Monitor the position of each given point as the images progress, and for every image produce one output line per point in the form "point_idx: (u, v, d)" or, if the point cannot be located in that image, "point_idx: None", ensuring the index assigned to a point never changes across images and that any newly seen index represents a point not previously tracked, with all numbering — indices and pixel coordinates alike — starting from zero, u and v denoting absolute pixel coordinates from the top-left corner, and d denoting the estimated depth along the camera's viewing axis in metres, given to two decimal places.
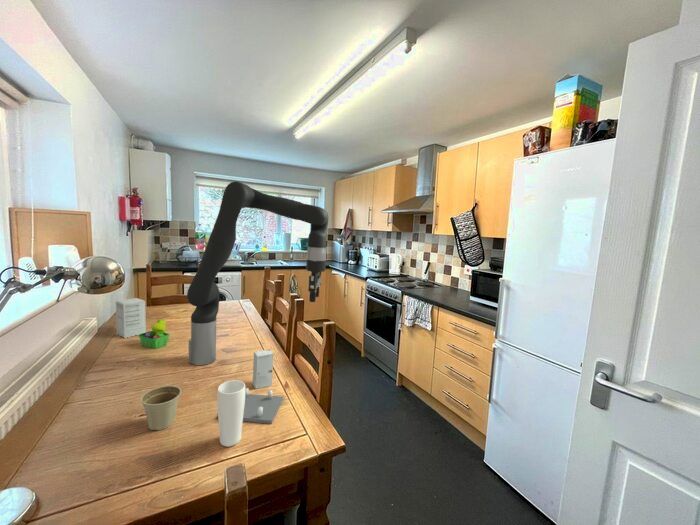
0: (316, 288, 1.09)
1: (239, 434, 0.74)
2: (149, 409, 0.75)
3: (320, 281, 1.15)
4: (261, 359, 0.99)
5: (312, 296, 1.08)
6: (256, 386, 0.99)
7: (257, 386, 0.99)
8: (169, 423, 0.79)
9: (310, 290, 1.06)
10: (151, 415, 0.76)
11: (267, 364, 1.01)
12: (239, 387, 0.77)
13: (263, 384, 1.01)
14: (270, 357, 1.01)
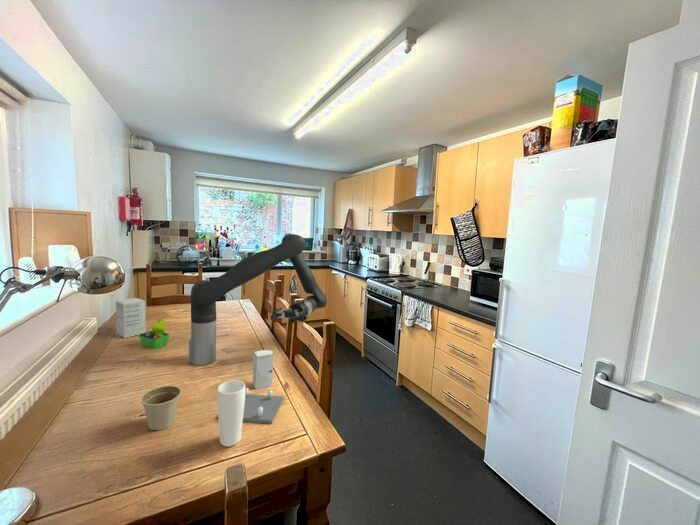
0: None
1: (239, 434, 0.74)
2: (149, 409, 0.75)
3: None
4: (261, 359, 0.99)
5: (296, 320, 1.12)
6: (256, 386, 0.99)
7: (257, 386, 0.99)
8: (169, 423, 0.79)
9: (303, 317, 1.14)
10: (151, 415, 0.76)
11: (267, 364, 1.01)
12: (239, 387, 0.77)
13: (263, 384, 1.01)
14: (270, 357, 1.01)
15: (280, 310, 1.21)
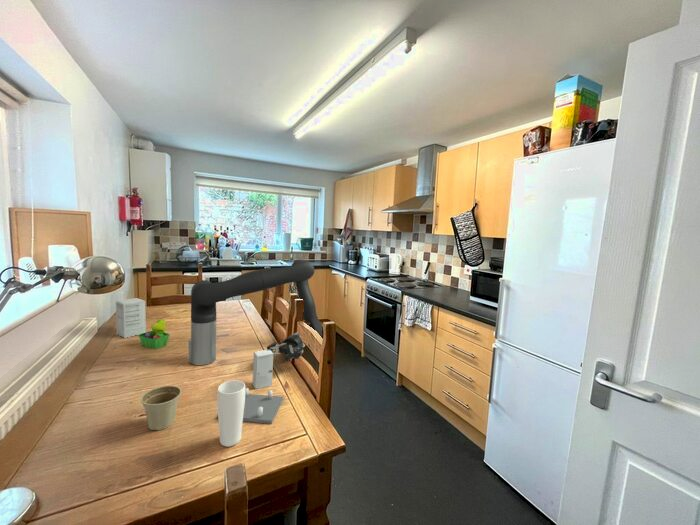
0: None
1: (239, 434, 0.74)
2: (149, 409, 0.75)
3: None
4: (261, 359, 0.99)
5: (290, 357, 1.10)
6: (256, 386, 0.99)
7: (257, 386, 0.99)
8: (169, 423, 0.79)
9: (297, 354, 1.12)
10: (151, 415, 0.76)
11: (267, 364, 1.01)
12: (239, 387, 0.77)
13: (263, 384, 1.01)
14: (270, 357, 1.01)
15: (274, 344, 1.19)
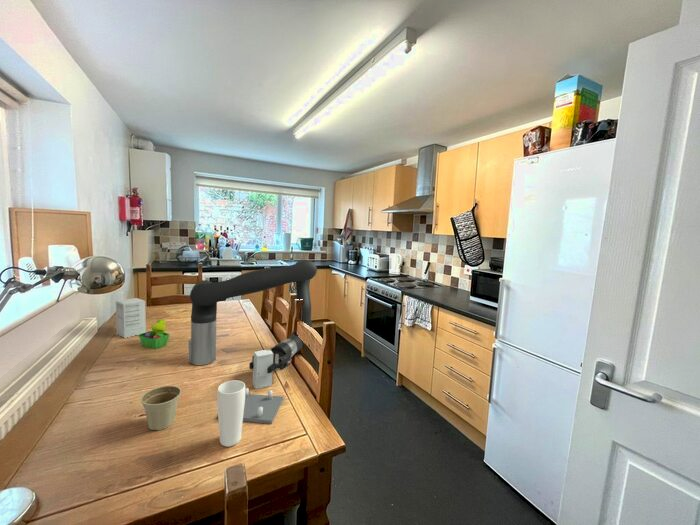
0: None
1: (239, 434, 0.74)
2: (149, 409, 0.75)
3: None
4: (261, 359, 0.99)
5: (274, 368, 1.01)
6: (256, 386, 0.99)
7: (257, 386, 0.99)
8: (169, 423, 0.79)
9: (282, 365, 1.03)
10: (151, 415, 0.76)
11: (267, 364, 1.01)
12: (239, 387, 0.77)
13: (263, 384, 1.01)
14: (270, 357, 1.01)
15: None
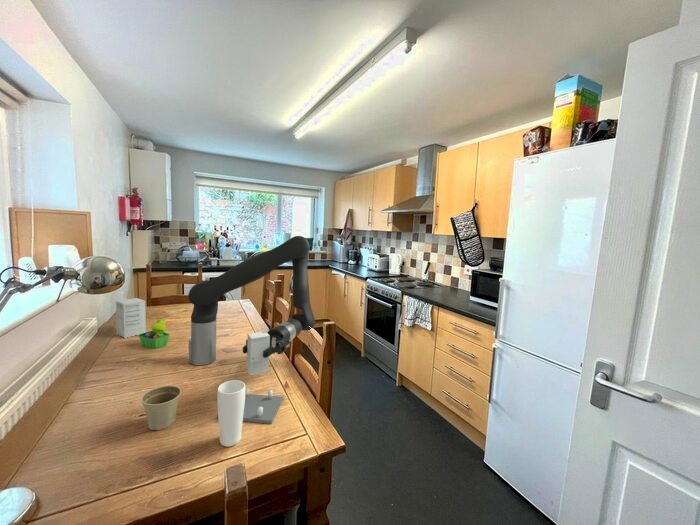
0: None
1: (239, 434, 0.74)
2: (149, 409, 0.75)
3: None
4: (256, 342, 0.88)
5: (271, 352, 0.89)
6: (250, 372, 0.88)
7: (251, 372, 0.88)
8: (169, 423, 0.79)
9: (280, 348, 0.91)
10: (151, 415, 0.76)
11: (262, 348, 0.89)
12: (239, 387, 0.77)
13: (258, 370, 0.89)
14: (266, 340, 0.89)
15: None
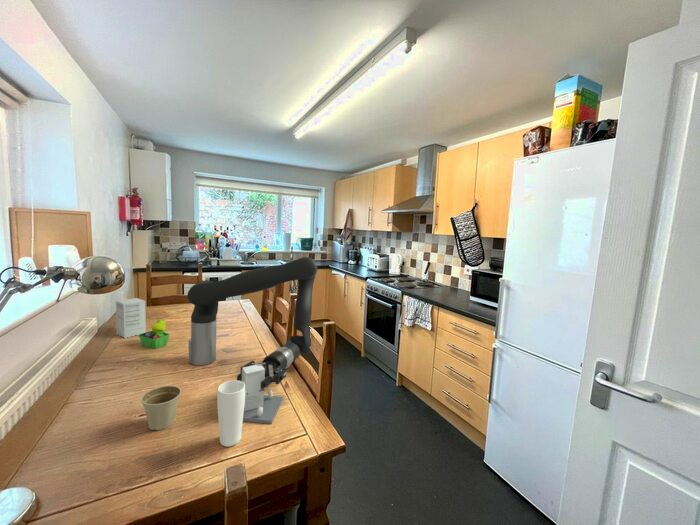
0: None
1: (239, 434, 0.74)
2: (149, 409, 0.75)
3: None
4: (250, 377, 0.86)
5: (269, 383, 0.87)
6: (245, 408, 0.86)
7: (245, 408, 0.86)
8: (169, 423, 0.79)
9: (278, 378, 0.89)
10: (151, 415, 0.76)
11: (257, 382, 0.87)
12: (239, 387, 0.77)
13: (253, 405, 0.87)
14: (261, 374, 0.87)
15: (251, 364, 0.96)
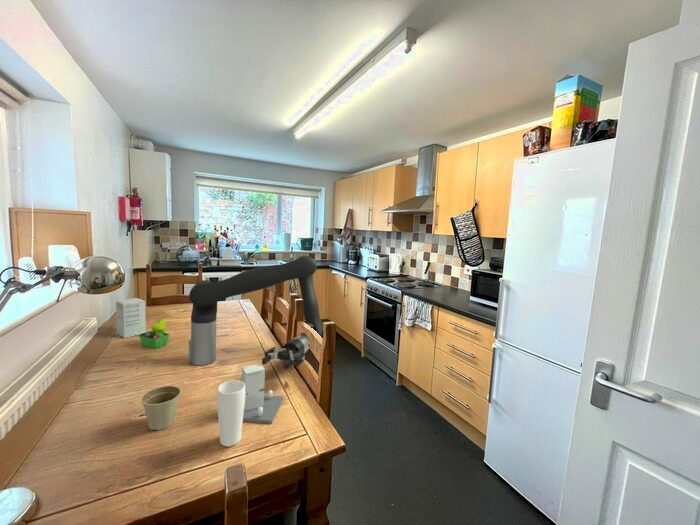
0: None
1: (239, 434, 0.74)
2: (149, 409, 0.75)
3: (277, 359, 1.06)
4: (250, 377, 0.86)
5: (290, 365, 0.99)
6: (245, 408, 0.86)
7: (245, 408, 0.86)
8: (169, 423, 0.79)
9: (298, 361, 1.01)
10: (151, 415, 0.76)
11: (257, 382, 0.87)
12: (239, 387, 0.77)
13: (253, 405, 0.87)
14: (261, 374, 0.87)
15: (273, 350, 1.08)
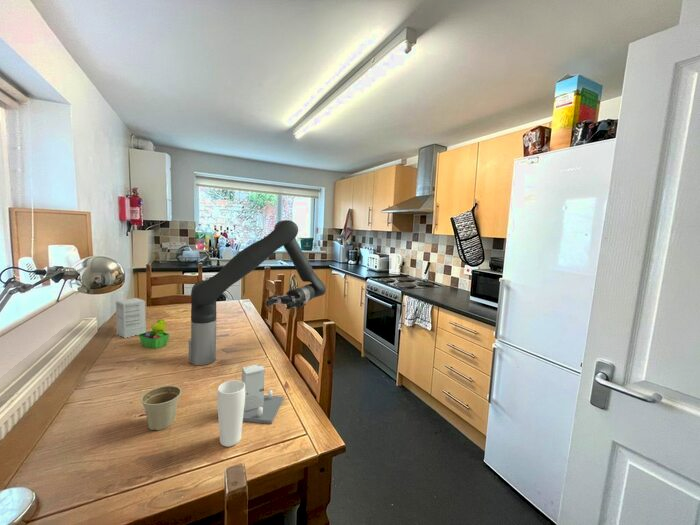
0: None
1: (239, 434, 0.74)
2: (149, 409, 0.75)
3: (280, 304, 1.13)
4: (250, 377, 0.86)
5: (292, 305, 1.07)
6: (245, 408, 0.86)
7: (245, 408, 0.86)
8: (169, 423, 0.79)
9: (300, 303, 1.08)
10: (151, 415, 0.76)
11: (257, 382, 0.87)
12: (239, 387, 0.77)
13: (253, 405, 0.87)
14: (261, 374, 0.87)
15: (276, 296, 1.16)
